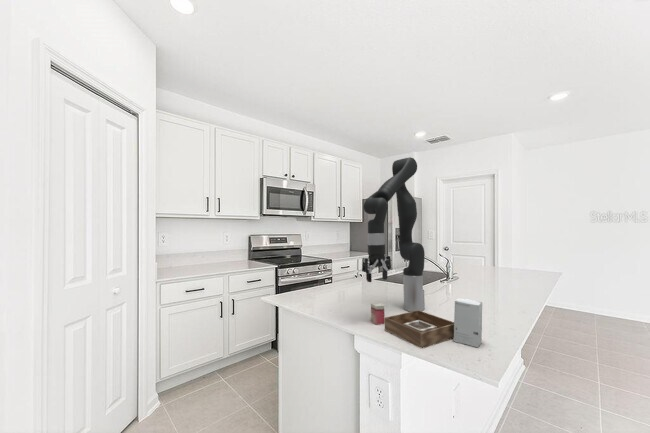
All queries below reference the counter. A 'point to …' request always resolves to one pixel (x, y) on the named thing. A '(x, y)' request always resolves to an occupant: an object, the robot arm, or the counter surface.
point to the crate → (420, 328)
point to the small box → (377, 313)
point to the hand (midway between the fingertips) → (377, 280)
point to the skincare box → (468, 322)
